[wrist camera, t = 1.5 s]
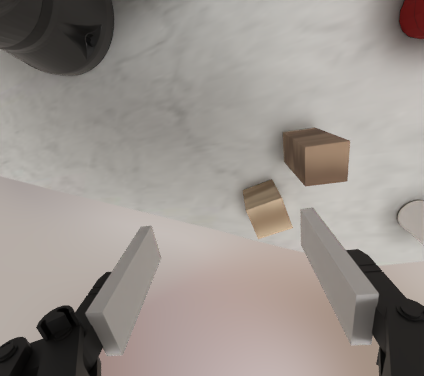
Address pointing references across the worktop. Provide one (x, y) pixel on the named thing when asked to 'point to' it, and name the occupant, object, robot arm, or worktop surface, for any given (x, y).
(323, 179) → the walnut block
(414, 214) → the drinking glass
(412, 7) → the plastic cup
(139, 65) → the worktop surface
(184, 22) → the worktop surface
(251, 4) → the worktop surface
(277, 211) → the oak block
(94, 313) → the robot arm
